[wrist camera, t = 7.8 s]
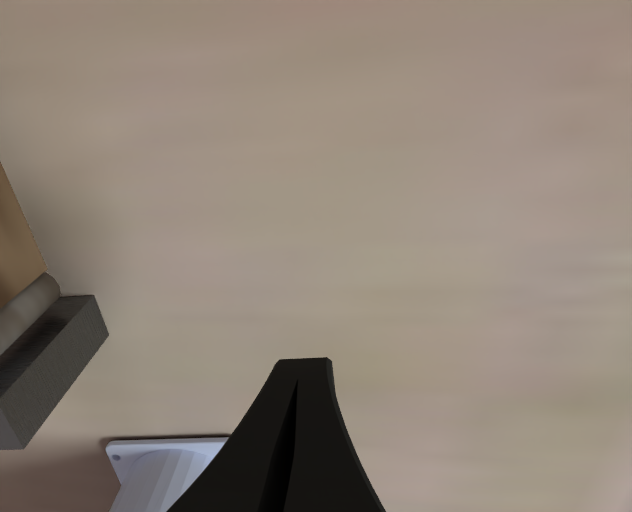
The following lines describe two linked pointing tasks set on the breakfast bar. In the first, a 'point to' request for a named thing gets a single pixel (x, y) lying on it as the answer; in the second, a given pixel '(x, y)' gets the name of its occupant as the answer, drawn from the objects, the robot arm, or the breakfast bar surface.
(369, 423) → the breakfast bar surface
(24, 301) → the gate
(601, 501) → the breakfast bar surface
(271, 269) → the breakfast bar surface
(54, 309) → the hinge post
